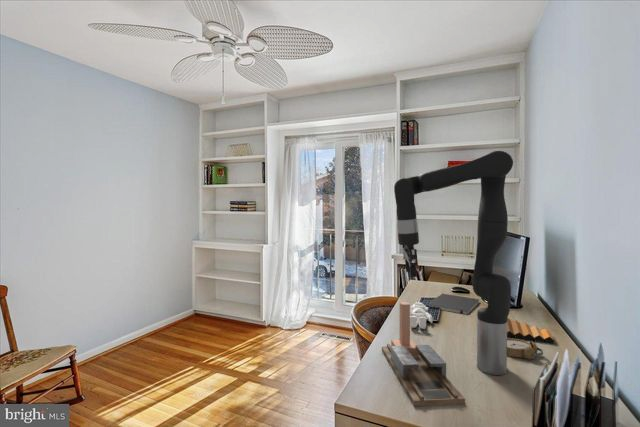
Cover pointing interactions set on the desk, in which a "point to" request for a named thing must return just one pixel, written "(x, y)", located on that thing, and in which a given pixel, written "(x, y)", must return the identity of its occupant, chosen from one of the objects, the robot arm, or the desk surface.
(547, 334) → the orange corrugated panel
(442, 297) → the notebook
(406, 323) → the pink post on block
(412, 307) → the figure
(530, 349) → the alarm clock
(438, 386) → the track board
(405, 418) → the desk surface
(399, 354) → the tunnel
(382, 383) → the desk surface
